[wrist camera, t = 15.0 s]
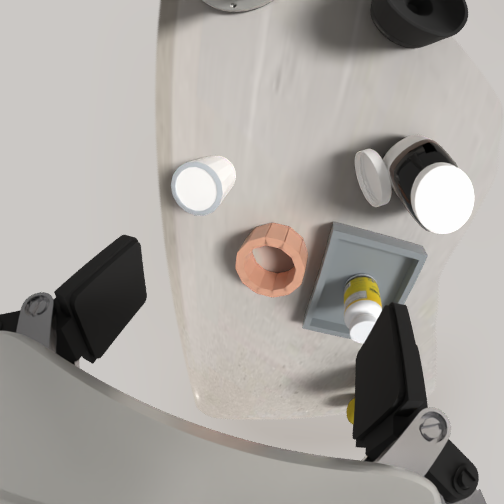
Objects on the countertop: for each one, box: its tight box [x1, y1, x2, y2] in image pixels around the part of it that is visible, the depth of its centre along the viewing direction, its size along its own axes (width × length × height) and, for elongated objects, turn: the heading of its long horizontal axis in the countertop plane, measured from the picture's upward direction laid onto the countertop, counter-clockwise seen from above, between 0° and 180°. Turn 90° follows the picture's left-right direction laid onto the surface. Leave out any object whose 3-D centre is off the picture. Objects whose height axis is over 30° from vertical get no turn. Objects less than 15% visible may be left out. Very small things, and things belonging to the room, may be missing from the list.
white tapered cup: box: [171, 155, 236, 215], centre depth 35 cm, size 7×7×7 cm
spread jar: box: [355, 135, 474, 234], centre depth 26 cm, size 12×11×12 cm
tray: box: [302, 222, 428, 339], centre depth 40 cm, size 18×14×3 cm
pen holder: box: [371, 0, 468, 48], centre depth 16 cm, size 9×9×10 cm
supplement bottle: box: [344, 274, 382, 343], centre depth 36 cm, size 5×5×10 cm
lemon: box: [347, 398, 355, 424], centre depth 51 cm, size 6×6×8 cm
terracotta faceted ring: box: [235, 223, 308, 297], centre depth 40 cm, size 9×9×4 cm
